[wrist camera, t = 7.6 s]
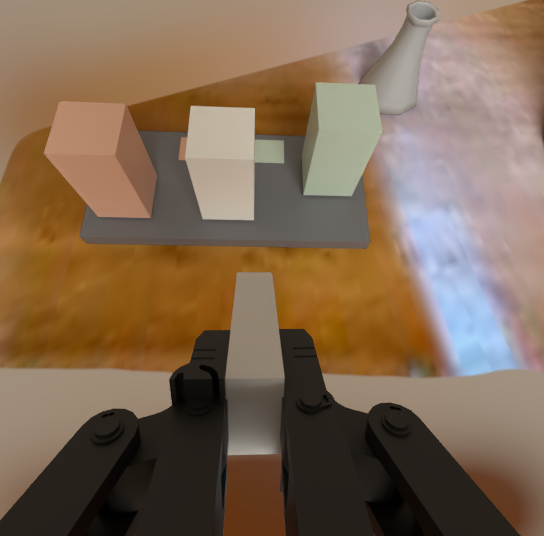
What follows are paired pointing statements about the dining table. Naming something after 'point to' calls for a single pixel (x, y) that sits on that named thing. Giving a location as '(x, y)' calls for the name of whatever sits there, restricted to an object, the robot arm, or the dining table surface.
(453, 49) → the dining table surface
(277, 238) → the grey board
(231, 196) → the cream tall block
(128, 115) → the pink tall block
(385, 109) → the flask
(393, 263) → the dining table surface
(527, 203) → the dining table surface
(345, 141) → the pale green tall block
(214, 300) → the dining table surface
